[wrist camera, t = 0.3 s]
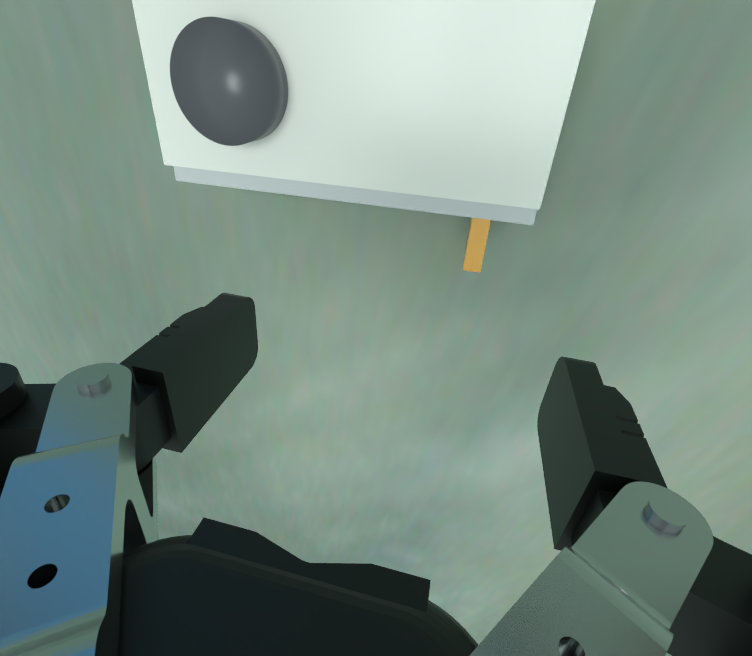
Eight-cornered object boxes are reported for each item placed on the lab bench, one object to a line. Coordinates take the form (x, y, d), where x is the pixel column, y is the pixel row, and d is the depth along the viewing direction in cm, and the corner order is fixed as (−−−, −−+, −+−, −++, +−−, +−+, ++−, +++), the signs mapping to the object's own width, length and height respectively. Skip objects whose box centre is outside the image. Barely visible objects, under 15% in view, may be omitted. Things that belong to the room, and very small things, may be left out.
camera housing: (237, -1, 33) (97, -40, 21) (561, 15, 29) (609, -22, 17) (251, 154, 39) (148, 190, 27) (521, 184, 35) (537, 241, 23)
